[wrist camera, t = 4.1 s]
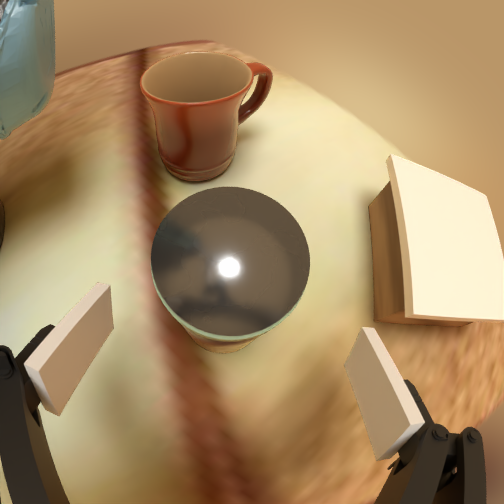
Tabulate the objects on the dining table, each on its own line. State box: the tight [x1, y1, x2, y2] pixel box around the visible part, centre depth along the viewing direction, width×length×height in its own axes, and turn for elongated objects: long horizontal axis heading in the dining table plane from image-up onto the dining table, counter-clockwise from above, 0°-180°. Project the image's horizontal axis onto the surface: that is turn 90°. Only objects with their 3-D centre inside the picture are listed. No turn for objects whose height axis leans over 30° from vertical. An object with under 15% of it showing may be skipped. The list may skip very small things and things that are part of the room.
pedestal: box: [369, 154, 504, 327], centre depth 22 cm, size 14×14×7 cm
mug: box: [140, 51, 273, 181], centre depth 23 cm, size 12×9×10 cm
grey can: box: [151, 187, 310, 353], centre depth 16 cm, size 6×6×12 cm
